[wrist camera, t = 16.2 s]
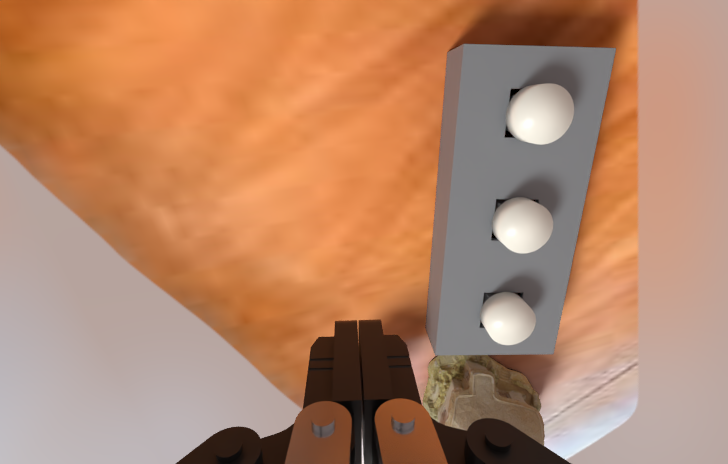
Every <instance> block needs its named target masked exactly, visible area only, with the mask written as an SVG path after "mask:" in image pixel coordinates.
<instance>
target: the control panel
mask: <svg viewBox="0 0 728 464" xmlns="http://www.w3.org/2000/svg"><path fill="white" fill-rule="evenodd" d="M615 51H616V48H593V47H558V46H523V45H488V44H462V45H461V46H459V47H457V48H455V49H453V50H451V51H449V52H447V64H446V77H445V89H444V102H443V114H442V127H441V139H440V152H439V164H438V177H437V189H436V202H435V214H434V227H433V239H432V252H431V264H430V277H429V289H428V302H427V314H426V327H425V328H426V331H427V334H428V336H429V339H430V342H431V345H432V348H433V350H434V353H435V355H526V354H554V349H555V344H556V339H557V334H558V329H559V324H560V320H561V315H562V310H563V305H564V300H565V295H566V290H567V285H568V281H569V276H570V271H571V266H572V261H573V256H574V251H575V246H576V242H577V237H578V232H579V227H580V222H581V217H582V212H583V207H584V203H585V198H586V193H587V188H588V183H589V178H590V173H591V168H592V163H593V159H594V154H595V149H596V144H597V139H598V134H599V129H600V124H601V120H602V115H603V110H604V105H605V100H606V95H607V90H608V85H609V81H610V76H611V71H612V66H613V61H614V56H615ZM546 83H552V84H557V85H560V86H562V87H563V88H565V89H566V90H567V91H568V92H569V94H570V95H571V97H572V99H573V103H574V116H573V120H572V122H571V125H570V127H569V128H568V130H567V131H566V132H565V133H564V134H563V135H562V136H561V137H560V138H559V139H557V140H556V141H554V142H551V143H548V144H542V145H540V144H533V143H528V142H524V141H520V140H518V139H516V138H515V137H505V130H506V110H507V107H508V105H509V99H510V91H511V89H523V88H525V87H527V86H530V85H537V84H546ZM516 197H524V198H528V199H530V200H536V201H535V202H536V203H538V204H540V205H542V206H544V207H545V208H546V209H547V210H548V211H549V212H550V214H551V216H552V219H553V230H552V234H551V236H550V238H549V239H548V241H547V242H546V243H545V244H544V245H543V246H542V247H541V248H539V249H538V250H536V251H534V252H530V253H524V254H522V253H516V252H513V251H511V250H509V249H508V248H507V247H506V246H505V245H504V244H502V243H501V242H500V241H499V240H498V239H497V238H491V237H492V219H493V216H494V213H495V206H496V199H512V198H516ZM501 292H512V293H520V297H521V298H522V299H523V300H524V301H525V302H526V303H527V305H528V306H529V307H530V308H531V309H532V310H533V312H534V314H535V317H536V325H535V328H534V330H533V332H532V333H531V335H530V336H529V337H528V338H527V339H525V340H524V341H522V342H520V343H518V344H514V345H502V344H499V343H497V342H495V341H494V340H493V339H492V338H491V337H490V335H489V334H488V332H487V330H486V329H485V327H484V326H483V324H482V323H480V321H481V319H480V311H481V308H482V305H483V298H484V293H501Z"/></svg>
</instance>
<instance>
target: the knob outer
mask: <svg viewBox="0 0 728 464" xmlns="http://www.w3.org/2000/svg"><path fill="white" fill-rule="evenodd" d="M480 319H481V322H482V324H483V326H484V327H485V329H486V330H487V332H488V334H489V335H490V337H491V338H492V339H493V340H494V341H495V342H497V343H499V344H502V345H514V344H518V343H520V342H522V341H524V340H525V339H527V338H528V337H529V336H530V335H531V333H532V332H533V330H534V328H535V325H536V317H535V314H534V312H533V310H532V309H531V308H530V307H529V306H528V305H527V303H526V302H525V301H524V300H523V299H522V298H521V297H520V296H519V295H517V294H515V293H512V292H501V293H484V298H483V305H482V308H481V311H480Z"/></svg>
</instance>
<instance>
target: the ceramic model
mask: <svg viewBox="0 0 728 464" xmlns="http://www.w3.org/2000/svg"><path fill="white" fill-rule="evenodd" d="M428 373H429V377H428V383H427V387H426V390H425V393H424V398H423V406H424V408H425V409H426V410H427V411H428V413H429V415H430V417H431V418H433V419H434V420H436V421H437V422H439V423H441V424H444V425H446V426H450V427H454V428H458V429H462V430H466V431H467V429H468V428H469V426H470V425H471V424H472V423H473V422H474V421H476V420H479V419H483V418H494V419H499V420H502V421H505V422H507V423H509V424H511V425H512V426H514V427H516V428H517V429H519V430H520V431H522V432H523V433H525V434H526V435H528V436H529V437H531V438H532V439H534V440H535V441H537V442H539V443H540V444H542V445H543V446H544V437H545V435H544V423H543V419H542V416H541V415H540V413H539V411H540V409H541V403H540V399H539V396H538V393H537V392H536V391H535V390H534V389H533V388H532V386H531V385H530V383H529V381H528V379H527V378H526V377H525V376H524V375H523V374H521V373H520V372H517V371H513V370H510V369H507V368H505V367H504V366H503V365H501V364H499V363H498V362H496V361H495V360H493V359H492V358H491V357H489V356H488V355H438V356H437V357H435V359H433V360H432V361H431V362H430V363H429V366H428Z"/></svg>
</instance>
